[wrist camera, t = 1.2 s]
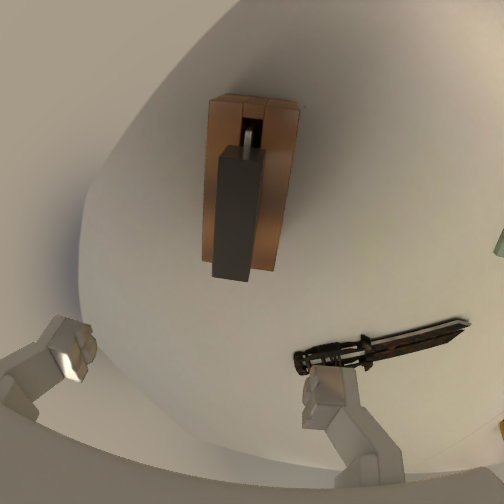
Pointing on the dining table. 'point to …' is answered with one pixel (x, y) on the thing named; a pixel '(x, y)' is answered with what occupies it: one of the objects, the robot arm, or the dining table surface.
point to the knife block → (275, 168)
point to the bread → (502, 428)
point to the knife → (379, 347)
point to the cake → (500, 246)
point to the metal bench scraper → (237, 206)
